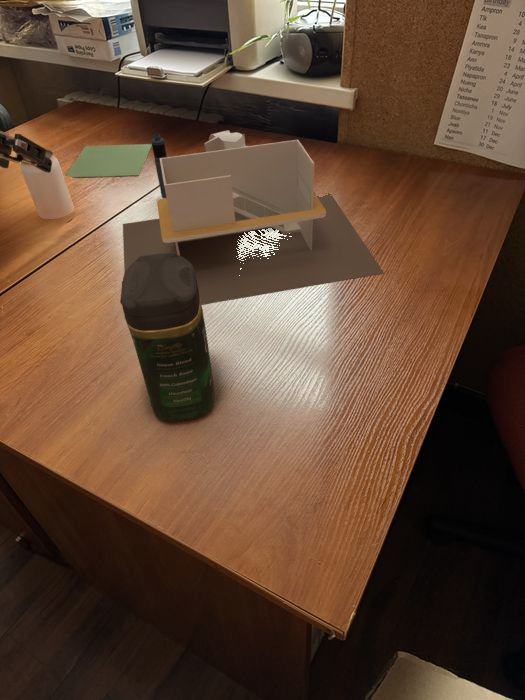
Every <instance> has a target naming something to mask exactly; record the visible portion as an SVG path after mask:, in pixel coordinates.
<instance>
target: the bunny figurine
mask: <svg viewBox="0 0 525 700" xmlns="http://www.w3.org/2000/svg"><path fill="white" fill-rule="evenodd" d="M246 144H247V143H246V136H245V133H240V132H230V130H229V129H228V130H223V131H219V132H215V133H211V134H210V135H209V136H208V141H206V142H204V143H203V145H204V150H205V151H204V152H210V151H218V150H225V149H233V148H240V147H247V146H248V145H246Z"/></svg>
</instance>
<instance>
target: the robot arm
mask: <svg viewBox="0 0 525 700" xmlns="http://www.w3.org/2000/svg"><path fill="white" fill-rule="evenodd" d="M46 150H47V148H45V147H43V146H41V145H40V144H38V143H36V142H34V141H33V140H31V139H29V138H28V137H26V136H24V135H22V134H21V133H14V136H11V135H8V134H6V133H5V132H4V131H2V130H0V168H3V169H9V167H10V162H11V163H15V164H21V162H25V163H28V164H31V165H32V166H35V167H37V168H38V169H40V170H42V171H44V172H47V173H50V172H51V167H52V161H51V159H49V158H47V157H46V156H45V155H46ZM13 152H14V153H15V156H12V153H13ZM24 157H25V158H24Z"/></svg>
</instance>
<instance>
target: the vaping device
mask: <svg viewBox="0 0 525 700" xmlns="http://www.w3.org/2000/svg"><path fill="white" fill-rule="evenodd" d="M150 142H151V143H150V144H152V147H151V149H152V153H153V158H154V164H155V169H156V174H157V180H158V185H159V189H160V195H161V198H167V197H166V192H165V187H164V181H163V175H162V170H161V164H160V158H166V157H173V155H171V156H170V155H169V156H168V154H167V150H166V143H165V139H164V137H161V135H160V133H154V134H153V138H152V139H151V140H150Z"/></svg>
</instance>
